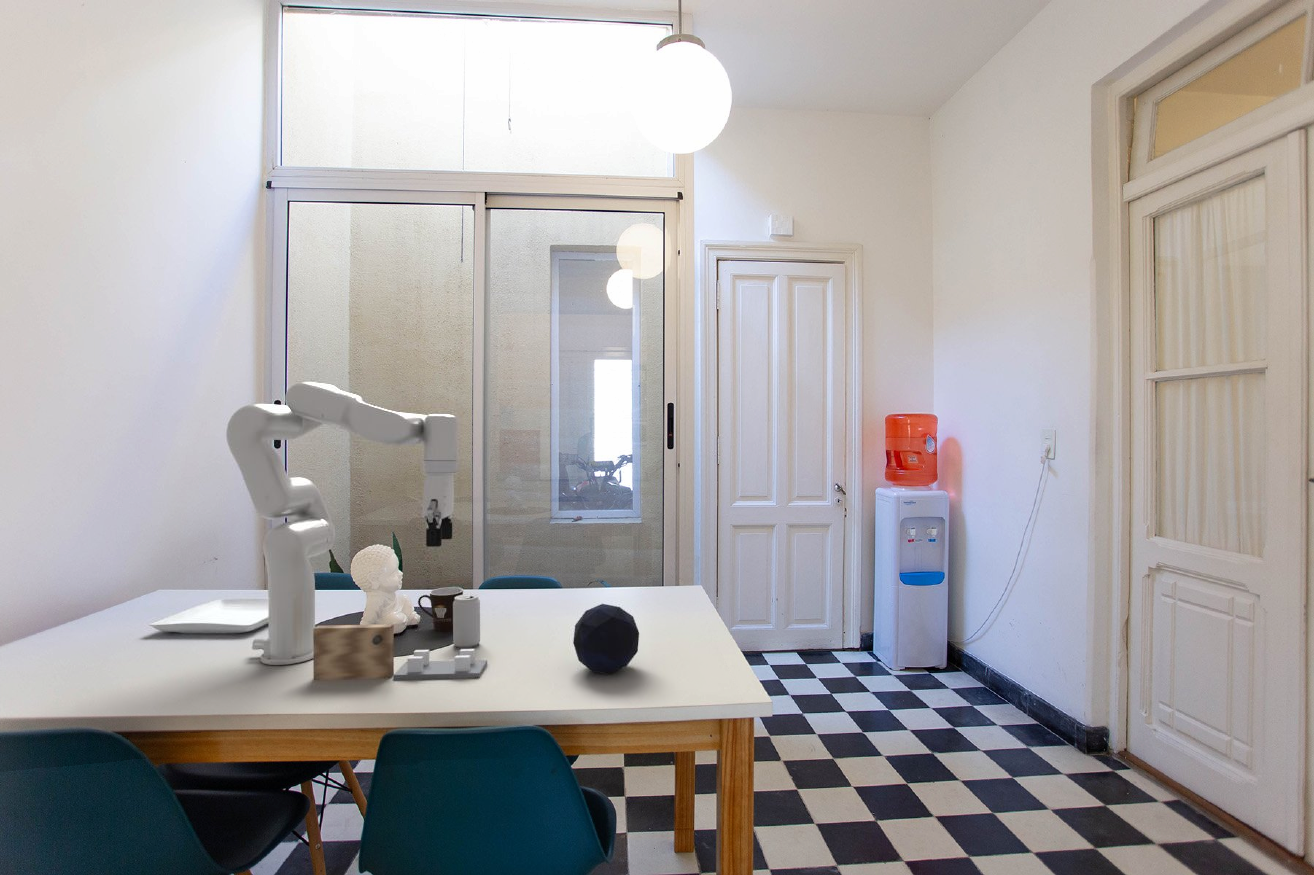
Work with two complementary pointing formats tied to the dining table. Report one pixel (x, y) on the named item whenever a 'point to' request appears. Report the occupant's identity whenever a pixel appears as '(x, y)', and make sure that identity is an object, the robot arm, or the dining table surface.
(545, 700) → the dining table surface
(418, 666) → the hinge base
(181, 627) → the square plate
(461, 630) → the beverage can
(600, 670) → the decorative orb
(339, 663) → the door panel
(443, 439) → the robot arm
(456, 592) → the coffee mug
